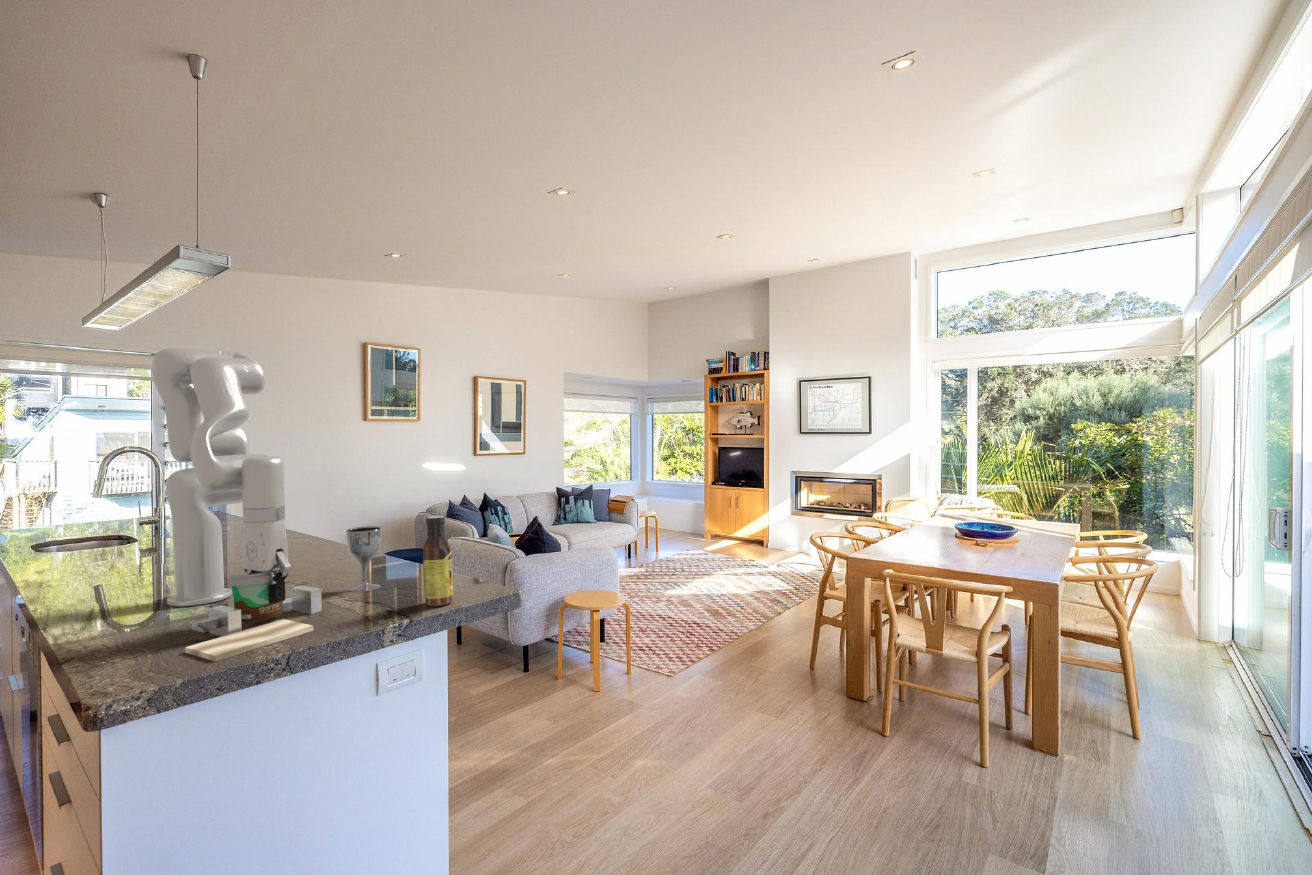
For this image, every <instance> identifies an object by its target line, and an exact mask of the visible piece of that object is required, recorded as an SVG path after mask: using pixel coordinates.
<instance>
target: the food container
mask: <svg viewBox="0 0 1312 875" xmlns="http://www.w3.org/2000/svg"><path fill="white" fill-rule="evenodd" d="M273 568H276V567H273ZM273 568H272V569H273ZM273 573H274V576H276V574H277V573H278V572H273ZM228 581H229V583H228V586H229V587H231V590H232V599H233V606H234V607H233V608H236V609H241V624H244V623H254V622H255V623H257V622H260V621H261V622H262V621H267V620H270V619H272V618H276V617H279V616H280V615H282V614H283V611H282V606H283V601H280V602H277V603H273V604H270V603H269V598H268V585H269V584H271V583H270V580H269V577H268V573H267V572H264V573H263V572H257V571H254V572H251V573H249V574H247V575H246V574H233V575H232V574H231V575H230V578H229V580H228Z"/></svg>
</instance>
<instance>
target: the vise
mask: <svg viewBox="0 0 1312 875" xmlns="http://www.w3.org/2000/svg"><path fill="white" fill-rule="evenodd" d="M290 590H291V591H290V593H291V594H290V595H291V597H285V600H284V601H283V606H282V612H283V611H287V610H292V611H293V612H299V613H303V614H304V613H305V614H309V615H314V614H316V613H320V612H322V610H323V609H322V607H323V605H322V588H319V587H313V586H307V585H298V586H294V587H291V588H290ZM207 611H208V618H204V619H201V620H197V621H193V622H191V623H192V624H191V627H192V628H191V629H192V631H195V632H199V633H202V634H203V633H207V632H209V634H210V635H214V636H218V637H223V636H226V635H230V634H233V633H237V632H240V631H243V630H242V628H243V627H242V623H241V609H236V608H235V607H232V606H227V605H222V604H220V605H216V606H214V607H209V608H208V610H207Z"/></svg>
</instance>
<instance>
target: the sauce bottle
mask: <svg viewBox="0 0 1312 875" xmlns="http://www.w3.org/2000/svg"><path fill="white" fill-rule="evenodd" d="M445 522H446V518H445V516H444V515H435V516H433V515H432V516H427V517H426V519H425V524H426V525H427V526H426V527H427V528H426V529H427V534H426V535H427V539H426V541H425V542H424V544H423V547H422V557H423V558H422V570H423V572H422V573H423V590H424V591H423V592H424V596H423V597H424V600H425V605H426V606H427V607H441V606H446V605H448V604H451V603H452V602H453V600H454V599H453V595H454V584H453V583H454V581H453V580H454V578H453V560H452V559H453V557H452V548H451V546H450V543H449V541H448V540H449V539H448V538H447V535H446V531H445Z"/></svg>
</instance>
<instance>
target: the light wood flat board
mask: <svg viewBox="0 0 1312 875" xmlns="http://www.w3.org/2000/svg"><path fill="white" fill-rule="evenodd" d="M313 631H314V625H312V624H307V623H302V622H299V621H293V620H290V619H284V618H282V619H280V620H275V621H272V622H269V623H264V624H261V625H259V626H255V627H251V628H247V629H244V630H242V631H240V632H237V633H233V634H230V635H226V636H223V637H222V636H218V637H217V638H212V639H209V640H207V641H206V640H205V641H202V642H198V643H195V644H192V645H191V644H190V645H188V646H186V647H185V649H184V650H185V651H184V652H185V653H186V654H189V655H192V656H196V657H199V658H201V659H205V660H209V661H213V662H216V663H217V662H218V661H221V660H224V659H229V658H231V657H234V656H238V655H241V654H244V653H247V652H250V651H254V650H256V649H259V648H260V649H261V648H262V647H266V646H269V645H272V644H275V643H279V642H281V641H285V640H288V639H293V638H294V637H298V636H300V635H304V634H306V633H310V632H313Z"/></svg>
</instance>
